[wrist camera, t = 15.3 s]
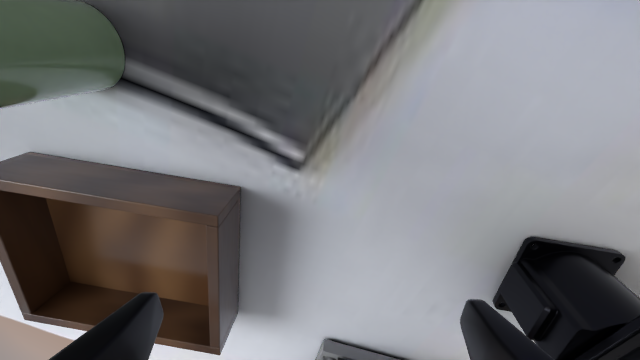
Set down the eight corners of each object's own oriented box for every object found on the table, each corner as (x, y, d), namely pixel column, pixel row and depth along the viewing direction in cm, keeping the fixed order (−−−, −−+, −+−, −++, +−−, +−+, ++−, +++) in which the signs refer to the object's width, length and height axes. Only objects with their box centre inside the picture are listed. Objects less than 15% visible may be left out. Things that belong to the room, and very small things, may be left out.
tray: (241, 186, 21) (218, 216, 17) (238, 312, 26) (220, 355, 23) (29, 151, 21) (-37, 173, 18) (68, 282, 27) (24, 320, 23)
